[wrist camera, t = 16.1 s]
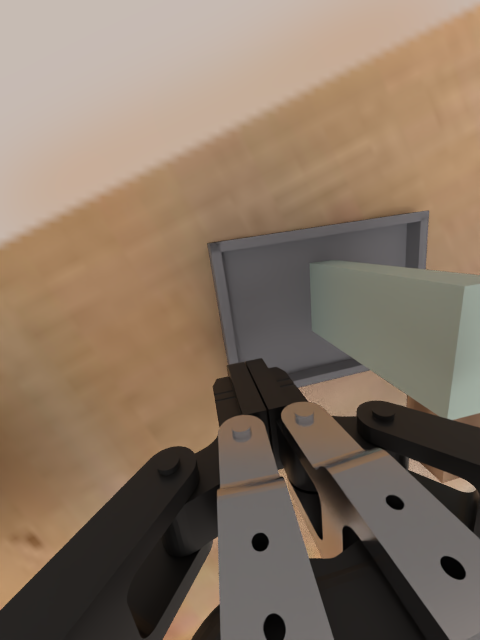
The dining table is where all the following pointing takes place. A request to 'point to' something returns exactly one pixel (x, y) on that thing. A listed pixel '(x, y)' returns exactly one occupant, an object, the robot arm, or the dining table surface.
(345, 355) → the charcoal tray
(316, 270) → the pale green rectangular block
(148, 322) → the dining table surface
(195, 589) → the dining table surface
